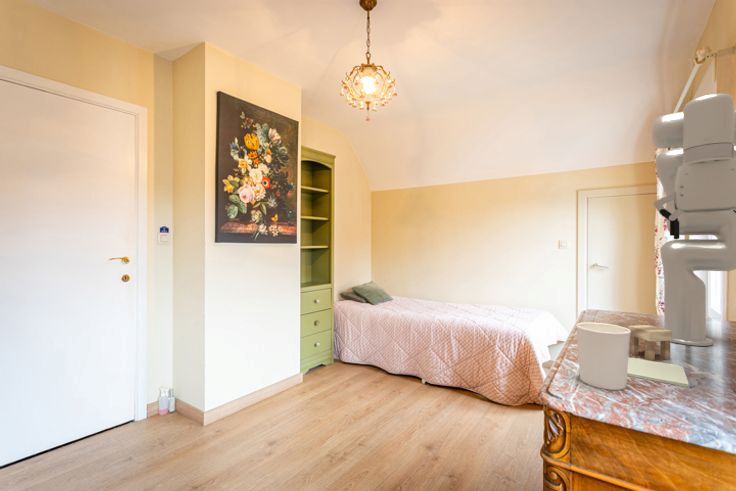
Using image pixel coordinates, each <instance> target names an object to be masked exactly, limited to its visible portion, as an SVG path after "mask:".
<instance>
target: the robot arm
mask: <svg viewBox="0 0 736 491" xmlns="http://www.w3.org/2000/svg"><path fill="white" fill-rule="evenodd" d="M651 138H652V139H651V140H652V143H653V145H654V147H655V148H656V149H668V150H664V151H661V152H660V153H659V154H658V155H657V156H656V157H655V158H656V159H655V170H656V174H657V177H658V179H659V182H660V184H661V186H662V188H663V190H664V192H665V197H662V198H660V199H657V200H656V201H654V202H653V206H654V208H655V209H656V211H657V212H658V214H659V215H661V216H662V217H664V218H665V219H666V220H665V221H666V228H667V231H668V232H669V237H670V236H673V240H668V241H667V242H664V244H663V245H662V246H661V248H660V257H661V258H660V259H661V264H662V268H663V283H664V288H663V290H664V291H663V292H664V295H663V296H664V300H663V302H664V303H663V304H664V305H663V306H664V310H663V313H664V315H663V316H664V319H663V320H664V324H663V325H664V326H663V327H664V328H663V329H666V330H670V331H672V341H670V343H673V344H674V343H675V344H682V345H688V346H695V347H696V346H697V347H700V346H701V347H708V346H713V345H714V340H713V339H711V338H709V337H706V336H707V322H706V319H707V316H706V315H707V313H706V311H707V310H706V309H707V305H706V302H707V301H706V300H707V296H706V295H707V294H706V292H707V288H706V287H707V286H706V284H705V282H704V281H703V280H702V279H701V278H700V277H699V276H698V275H697V274H696V273H695V272H699V271H704V272H705V271H707V272H731V271H735V270H736V109H735V107H734V98H733V96H732V95H731V94H729V93H710V94H707V95H702V96H699V97H696V98H694V99H691V100H690V101H688V102H687V103H686V104H685V105H684V107H683V109H682V111H677V112H674V113H673V112H672V113H668V114H663V115H660V116H658V117H657V118H656V119H655V120H654V123H653V126H652V130H651ZM664 205H665V206H664ZM680 236H714V237H716V239H715V238H714V239H712V238H711V239H709V238H707V239H705V238H704V239H697V238H695V239H694V238H693V239H686V238H685V239H680Z"/></svg>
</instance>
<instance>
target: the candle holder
mask: <svg viewBox="0 0 736 491" xmlns="http://www.w3.org/2000/svg"><path fill="white" fill-rule="evenodd" d="M575 328H576V337H577V338H576V340H577V354H578V357H577V358H578V368H579V378H580V380H581V381H582V382H583V383H585V385H586V384H587V385H588V386H591V387H595V388H599V389H602V390H611V391H618V390H619V391H620V390H624V389H626V388H627V381H628V376H627V372H628V358H629V356H630V334H631V331H630V330H629V329H628V327H624V326H621V325H616V324H610V323H603V322H589V321H588V322H578V323H576V324H575Z"/></svg>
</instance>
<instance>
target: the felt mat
mask: <svg viewBox="0 0 736 491" xmlns="http://www.w3.org/2000/svg"><path fill="white" fill-rule="evenodd" d="M627 377H632V378H637V379H644V380H649V381H655V382H658V383H664V384H671V385H674V386H675V385H676V386H679V387H680V386H681V387H685V388H690V383H689V381H688V378H687V375H686V373H685V369H684V367H683V365H679V364H673V363H672V364H671V363H665V362H662V361H661V362H660V361H656V360H648V359H642V358H635V357H629V358H628V372H627Z"/></svg>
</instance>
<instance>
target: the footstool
mask: <svg viewBox="0 0 736 491" xmlns="http://www.w3.org/2000/svg"><path fill="white" fill-rule="evenodd" d="M627 329H629V330H630V331H631V334H630V344H629V354H631V355H636V356H637V355H639V354H640V352H639V350H640V349H639V348H640V347H639V346H640V345H639V344H640V343H639V339H641V340H643V341H644V360H648V361H656V360H655V358H656V350H655V349H656V348H655V346H656V345H655V344H656V342H660V344H659V345H660V349H659V350H660V359H662V360H666V361H667V360H671V342H670V341H672V331H670V330H666V329H664V328H662V327H658V326H655V325H650V324H643V325H628V326H627Z"/></svg>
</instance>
